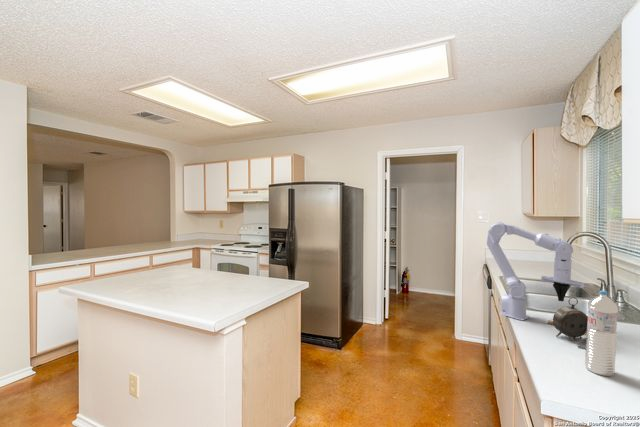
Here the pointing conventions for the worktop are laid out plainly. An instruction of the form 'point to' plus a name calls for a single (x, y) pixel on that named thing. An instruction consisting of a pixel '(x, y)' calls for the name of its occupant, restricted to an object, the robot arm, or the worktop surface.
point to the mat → (582, 344)
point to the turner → (553, 324)
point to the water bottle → (601, 335)
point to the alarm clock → (570, 321)
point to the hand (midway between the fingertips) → (561, 300)
